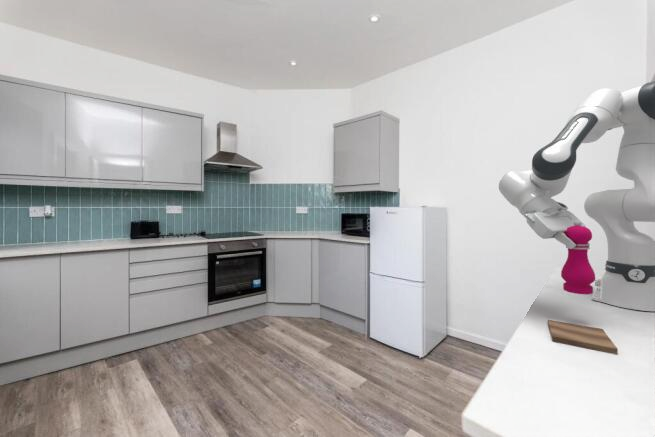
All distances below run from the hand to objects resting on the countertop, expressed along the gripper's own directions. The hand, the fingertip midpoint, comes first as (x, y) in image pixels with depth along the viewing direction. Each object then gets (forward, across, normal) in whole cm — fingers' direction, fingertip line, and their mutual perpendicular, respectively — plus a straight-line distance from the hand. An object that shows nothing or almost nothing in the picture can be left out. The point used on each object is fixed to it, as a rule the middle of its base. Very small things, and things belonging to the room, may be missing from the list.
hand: (580, 246), depth 79 cm
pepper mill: (+9, 0, +10) cm, 13 cm away
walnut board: (+18, -12, +11) cm, 25 cm away
